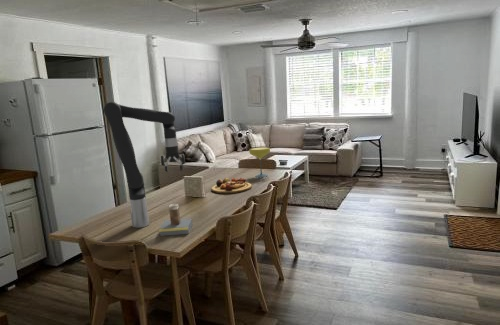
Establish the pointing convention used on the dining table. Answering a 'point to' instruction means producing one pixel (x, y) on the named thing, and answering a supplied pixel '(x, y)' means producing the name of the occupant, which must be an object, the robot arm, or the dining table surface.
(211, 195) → the dining table surface
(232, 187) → the wooden plate with food
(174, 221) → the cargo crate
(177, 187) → the dining table surface
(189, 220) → the dock
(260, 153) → the cocktail glass
